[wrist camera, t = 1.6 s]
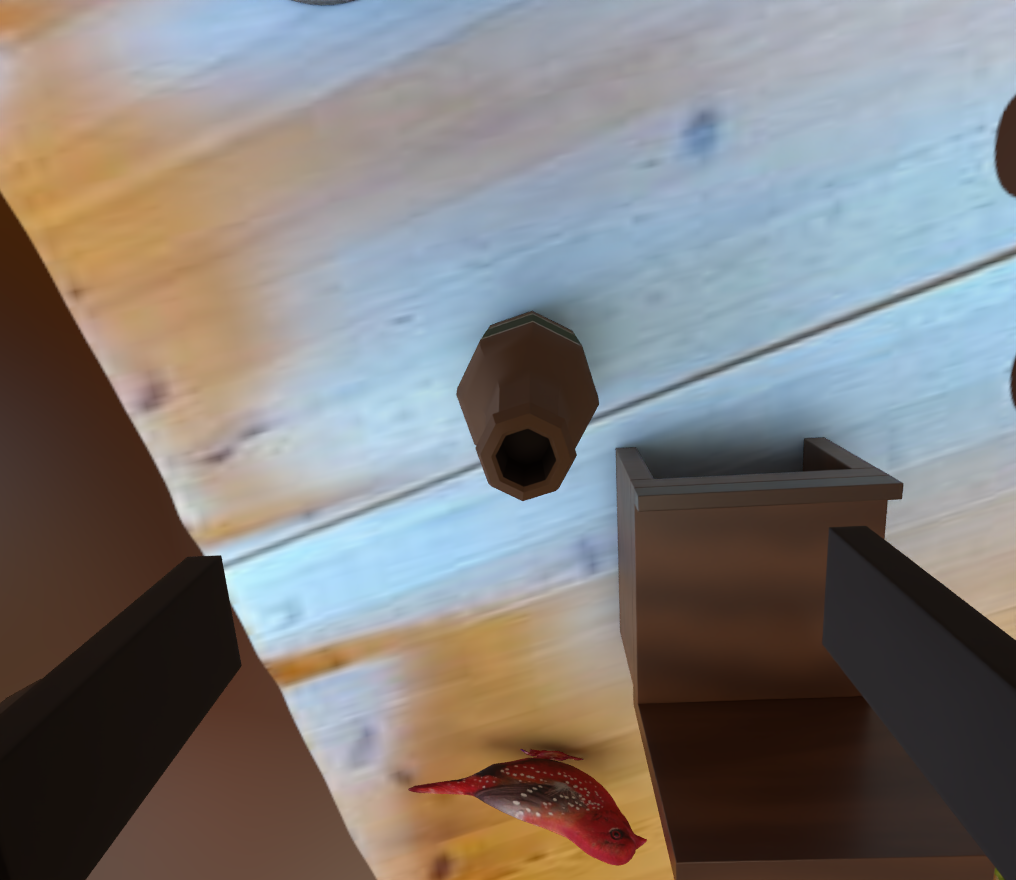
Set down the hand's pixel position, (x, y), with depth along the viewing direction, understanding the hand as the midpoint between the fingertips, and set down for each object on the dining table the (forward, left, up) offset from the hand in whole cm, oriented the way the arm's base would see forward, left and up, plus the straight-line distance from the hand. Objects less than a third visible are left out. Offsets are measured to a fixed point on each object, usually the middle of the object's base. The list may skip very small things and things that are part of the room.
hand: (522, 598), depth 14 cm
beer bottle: (0, 0, -34) cm, 34 cm away
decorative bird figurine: (+32, -2, -34) cm, 47 cm away
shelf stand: (+14, +14, -34) cm, 39 cm away
